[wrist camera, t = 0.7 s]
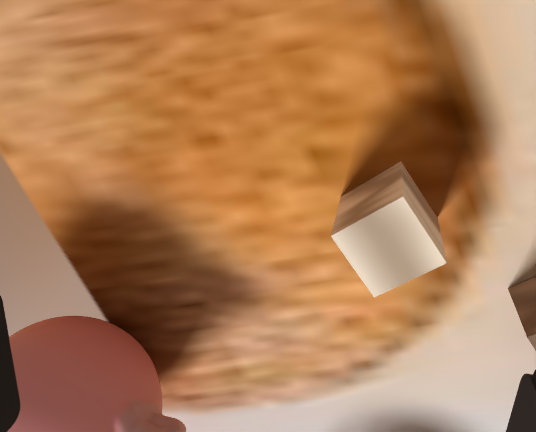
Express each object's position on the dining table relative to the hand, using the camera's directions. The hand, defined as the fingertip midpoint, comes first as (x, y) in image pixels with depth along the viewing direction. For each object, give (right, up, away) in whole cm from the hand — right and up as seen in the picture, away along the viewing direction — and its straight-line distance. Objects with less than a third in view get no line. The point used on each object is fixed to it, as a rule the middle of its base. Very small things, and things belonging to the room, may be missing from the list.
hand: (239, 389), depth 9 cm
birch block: (+9, +4, +28) cm, 30 cm away
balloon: (-12, -10, +40) cm, 43 cm away
